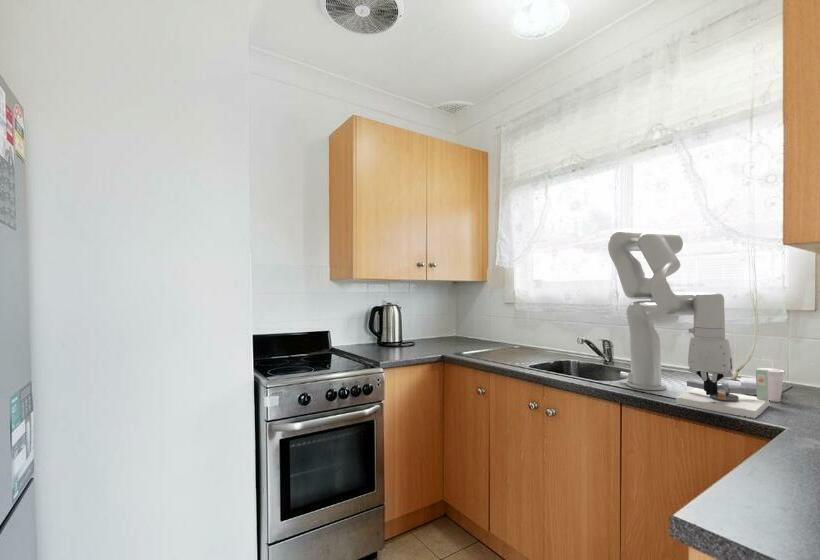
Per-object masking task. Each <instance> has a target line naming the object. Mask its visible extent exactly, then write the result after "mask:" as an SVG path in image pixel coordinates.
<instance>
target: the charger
mask: <svg viewBox="0 0 820 560" xmlns="http://www.w3.org/2000/svg"><path fill="white" fill-rule="evenodd" d="M720 383H725V384H729V387H753V388H756V377H744V376H742V377H739V378H738V381H737V380H730V379H728V380H727V382H724V381H720ZM755 395H757V391H756V394H749V395H748V396H755Z"/></svg>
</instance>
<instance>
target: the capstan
mask: <svg viewBox="0 0 820 560" xmlns="http://www.w3.org/2000/svg"><path fill="white" fill-rule="evenodd" d="M686 387H689V388H699V389H704V382H701V381H700V382H698V381H694V380H687V381H686ZM717 390H718V391H717V393H715V395H713V396H711V395H710V397H711V398H714V399H718V400H724V401H738V400H739V397H738V396H737V395H734V394H742V395H746V394H756V388H753V387H729V384H725V383H721V382H719V381H717ZM729 393H734V394H729Z"/></svg>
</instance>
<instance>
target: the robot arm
mask: <svg viewBox="0 0 820 560" xmlns="http://www.w3.org/2000/svg"><path fill="white" fill-rule="evenodd" d="M683 242H684V241H683V239H682V236H680V235H679V234H678V233H676V231H667V230H658V229H648V228H647V229H645V228H644V229H643V228H642V229H641V228H637V229H636V228H623V229H619V230H616V231H614V232H612V234H611V235H610V236H609V239H608V244H607V249H608V254H609V257H610V259H611V261H612V262H613V266H614V267H615V269H616V272H617V274H618V278H619V282H620V285H621V287H622V290H623V291H622V292H624V295H625V296H626V297H627V298H628V299H630V300H637V301H633V302H631V303H630V304H628V306H627V309H626V319H627V323H628V328H629V339H630V340H629V341H630V343H629V345H630V347H629V348H630V372H625V371H620V373H619V377H620V378H621V379H622V378H623V379H627V381H626V386H628V387H630V388H633V389H638V390H644V391H665V390H666V389H667V384H666V383H663V382H662V366H661V365H662V362H661V359H662V358H661V339H660V335H659V333H658V331H657V330H656V329H655V327H670V326H674V324H676V323H677V322H678V320H679V316H693V326H692V327H691V328H688V330H687V331H688V333H690V334H692V335H693V336H691V337H690V339H689V346H688V353H687V354H688V355H687V366H688V368H689V369H688V372H690V373H692V374H695V375H697V376H699V378H700V379H701V380H702V381H703V383H704V391H706V395H711V396H713V395H715V393H717V391H718V390H717V382H719V381H720V380H722V379H725V378H727V379H729V378H732V377H734V373H733V371H732V370H733V357H732V352H731V351H732V350H731V346H730V342H729V339H728V338H726V322H725V321H726V320H725V319H726V318H725V317H726V316H725V315H726V314H725V296H724V295H723V294H722V293H719V292H697V291H673V290H672V288H671V286H670V283H669V282H668V280H667V278H668V277H669V276H672V275H673V274H675V273H676V272H677V271H678V270H680V268H681V261H680V260H679V258H678V257H677V254H678V253H679V252H681V251H682V249H683V245H684V243H683ZM632 252H640V253H641V254H642V256H643V257H644V259H645V261H646V263H647V265H648V266H649V268H650V270H651V271H652V273H651V274H647V273H645V272H644V269H643V267H642V264H641V261H640V260H639V259H638V258H637V257H636V256H635V255H634V254H633V253H632ZM709 373H712V375H711V378H710V374H709Z"/></svg>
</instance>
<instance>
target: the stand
mask: <svg viewBox="0 0 820 560" xmlns="http://www.w3.org/2000/svg"><path fill="white" fill-rule="evenodd" d="M759 368H760V367H759ZM759 368H755V378H756V391H757V396H755V395H746V394H742V393H729V394H734V395H737V396H738V397H739V400H738V401H724V400H718V399H714V398H711V397H710V395H706V391H704V389H699V388H694V387H692V388H691V389H689V390H687V391H685V392H683V393H681V394H680V395H678V396H676V397H675V404H676V405H681V406H682V405H683V406H687V407H693V408H697V409H702V410H707V411H714V412H718V413H724V414H729V415H735V416H739V415H740V416H739V417H744V416H746V417H745V418H750V417H751V418H752V419H755V418H756V417H757V416H758V415H759V416H760V415H761V414H762V413H763V412H764V411H765V410H766V409H767V408H768V407H770V401H769V391H768V369H759ZM759 416H758V417H759ZM758 417H757V418H758Z"/></svg>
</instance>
